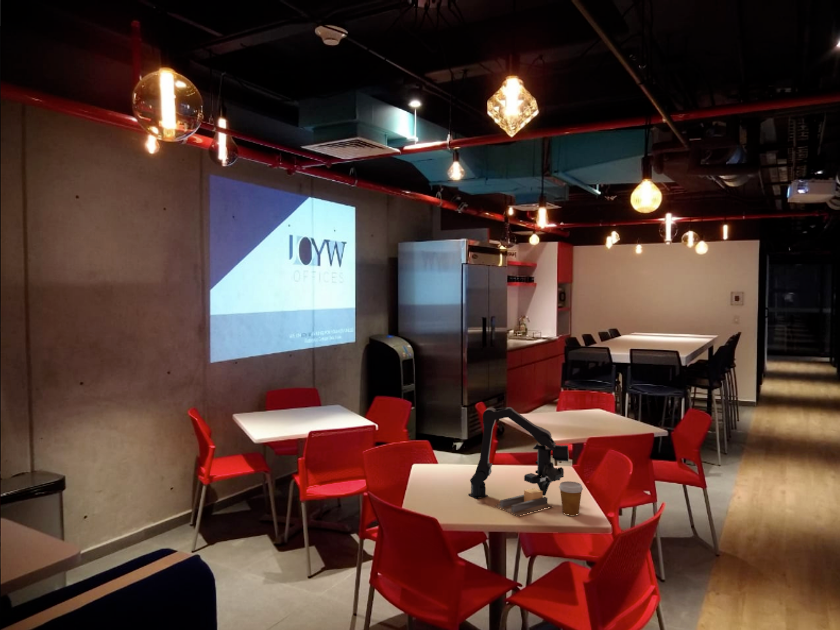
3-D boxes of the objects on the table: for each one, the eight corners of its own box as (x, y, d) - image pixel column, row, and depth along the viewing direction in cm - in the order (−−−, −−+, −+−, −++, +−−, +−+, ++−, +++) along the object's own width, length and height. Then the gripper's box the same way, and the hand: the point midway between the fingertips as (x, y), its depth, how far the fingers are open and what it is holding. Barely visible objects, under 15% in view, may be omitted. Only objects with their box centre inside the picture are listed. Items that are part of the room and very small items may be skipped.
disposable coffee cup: (585, 512, 242) (586, 483, 242) (578, 519, 235) (578, 489, 234) (563, 507, 248) (563, 479, 248) (555, 514, 240) (555, 485, 240)
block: (524, 502, 252) (524, 490, 252) (534, 499, 255) (534, 488, 255) (532, 505, 248) (532, 493, 248) (542, 502, 251) (542, 491, 251)
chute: (495, 506, 249) (495, 498, 249) (528, 498, 260) (528, 490, 259) (518, 516, 237) (518, 508, 237) (551, 507, 248) (551, 499, 248)
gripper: (542, 467, 243) (541, 504, 243) (573, 460, 253) (572, 496, 254) (523, 461, 252) (523, 497, 253) (554, 455, 262) (553, 489, 263)
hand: (543, 495), depth 255 cm, fingers closed
